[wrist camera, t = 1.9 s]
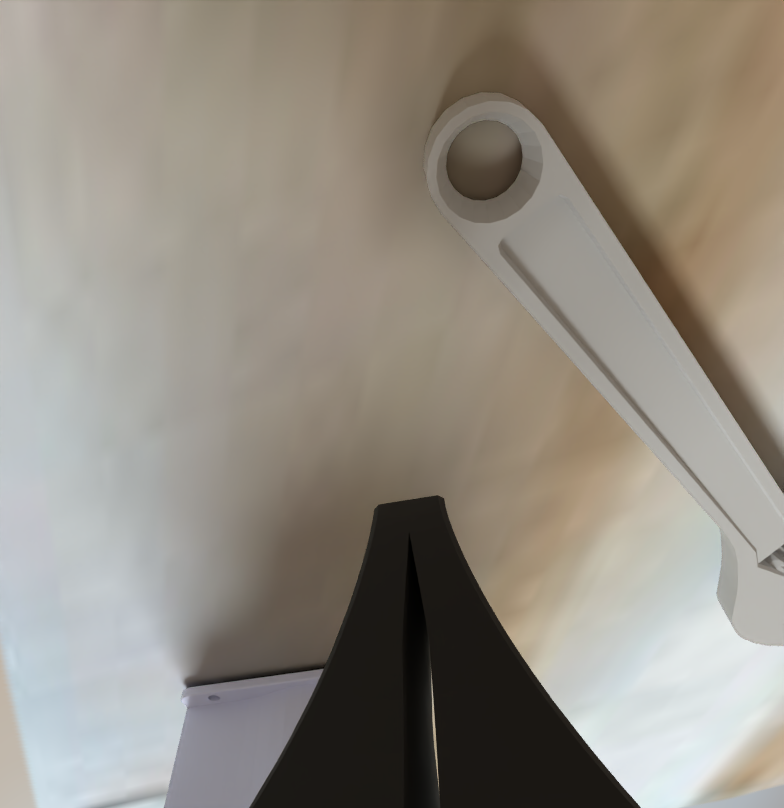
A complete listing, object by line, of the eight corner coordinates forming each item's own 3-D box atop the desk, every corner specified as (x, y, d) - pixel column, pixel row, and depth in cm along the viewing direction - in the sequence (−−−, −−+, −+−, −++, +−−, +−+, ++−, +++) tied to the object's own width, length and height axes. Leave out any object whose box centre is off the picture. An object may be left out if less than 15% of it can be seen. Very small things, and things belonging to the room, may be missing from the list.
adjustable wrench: (391, 146, 13) (394, 168, 12) (663, -79, 11) (708, -87, 9) (736, 624, 25) (758, 663, 24) (895, 565, 23) (929, 604, 22)
